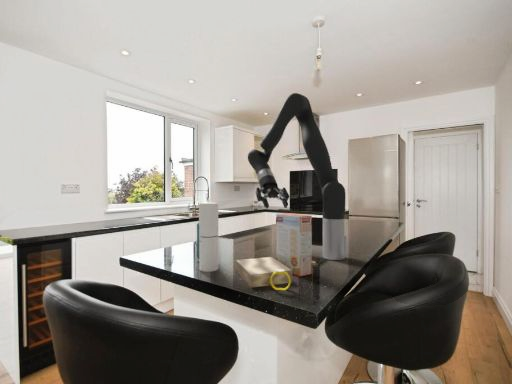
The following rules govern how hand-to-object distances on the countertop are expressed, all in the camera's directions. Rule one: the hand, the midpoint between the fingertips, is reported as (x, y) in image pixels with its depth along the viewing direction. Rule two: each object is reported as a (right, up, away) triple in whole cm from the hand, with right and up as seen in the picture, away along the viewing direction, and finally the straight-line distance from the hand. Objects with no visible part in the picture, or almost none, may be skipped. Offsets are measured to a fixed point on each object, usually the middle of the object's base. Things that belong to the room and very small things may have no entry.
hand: (277, 206), depth 113 cm
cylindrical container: (-27, -23, -11) cm, 37 cm away
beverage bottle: (-31, -23, 0) cm, 38 cm away
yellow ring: (-2, -23, -32) cm, 40 cm away
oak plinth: (-7, -23, -20) cm, 31 cm away
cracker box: (+5, -23, -14) cm, 27 cm away
